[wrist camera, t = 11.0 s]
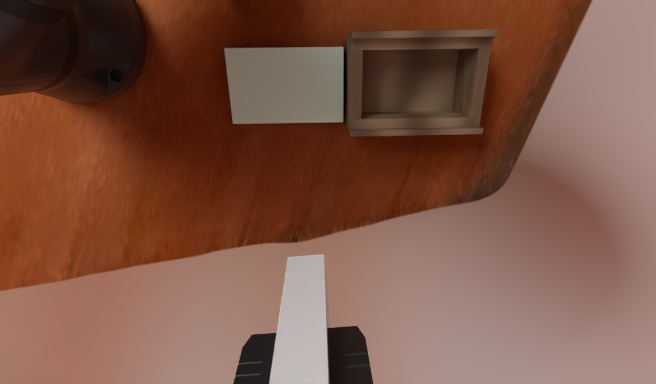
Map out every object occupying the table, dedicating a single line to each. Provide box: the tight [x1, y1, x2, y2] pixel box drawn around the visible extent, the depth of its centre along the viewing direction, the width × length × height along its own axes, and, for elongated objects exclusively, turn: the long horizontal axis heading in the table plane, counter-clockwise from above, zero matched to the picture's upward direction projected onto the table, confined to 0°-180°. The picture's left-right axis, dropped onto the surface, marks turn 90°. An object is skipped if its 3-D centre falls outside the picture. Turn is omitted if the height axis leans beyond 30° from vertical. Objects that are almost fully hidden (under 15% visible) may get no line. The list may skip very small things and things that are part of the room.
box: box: [346, 29, 499, 137], centre depth 37 cm, size 14×10×7 cm
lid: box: [224, 47, 344, 124], centre depth 39 cm, size 13×8×2 cm, turn 91°
